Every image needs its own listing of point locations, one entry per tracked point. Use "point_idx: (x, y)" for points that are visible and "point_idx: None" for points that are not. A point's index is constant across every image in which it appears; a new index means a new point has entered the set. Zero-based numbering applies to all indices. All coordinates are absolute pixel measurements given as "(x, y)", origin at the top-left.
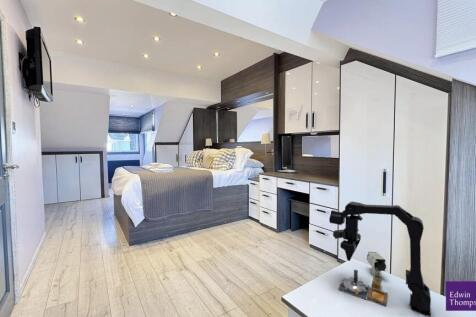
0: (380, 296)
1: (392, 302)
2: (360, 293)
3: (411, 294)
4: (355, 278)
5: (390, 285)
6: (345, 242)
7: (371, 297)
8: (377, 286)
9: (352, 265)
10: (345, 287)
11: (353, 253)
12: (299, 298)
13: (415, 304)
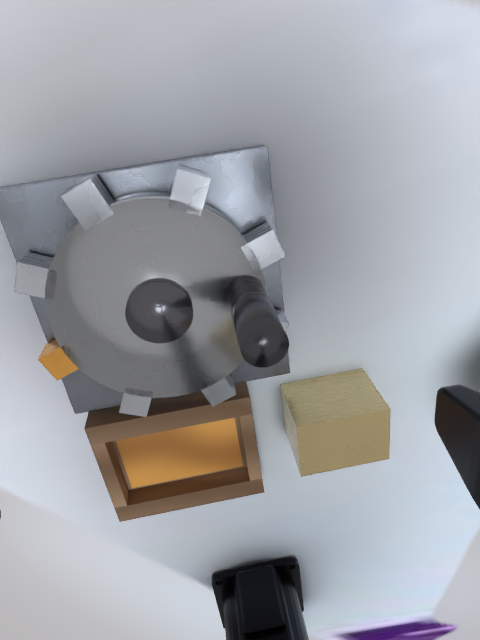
0: (202, 459)
1: (206, 506)
2: None
3: (277, 629)
4: (230, 309)
5: (420, 446)
6: None
7: (98, 450)
8: (292, 436)
9: None
10: (17, 270)
11: (442, 437)
12: None
13: (231, 614)
